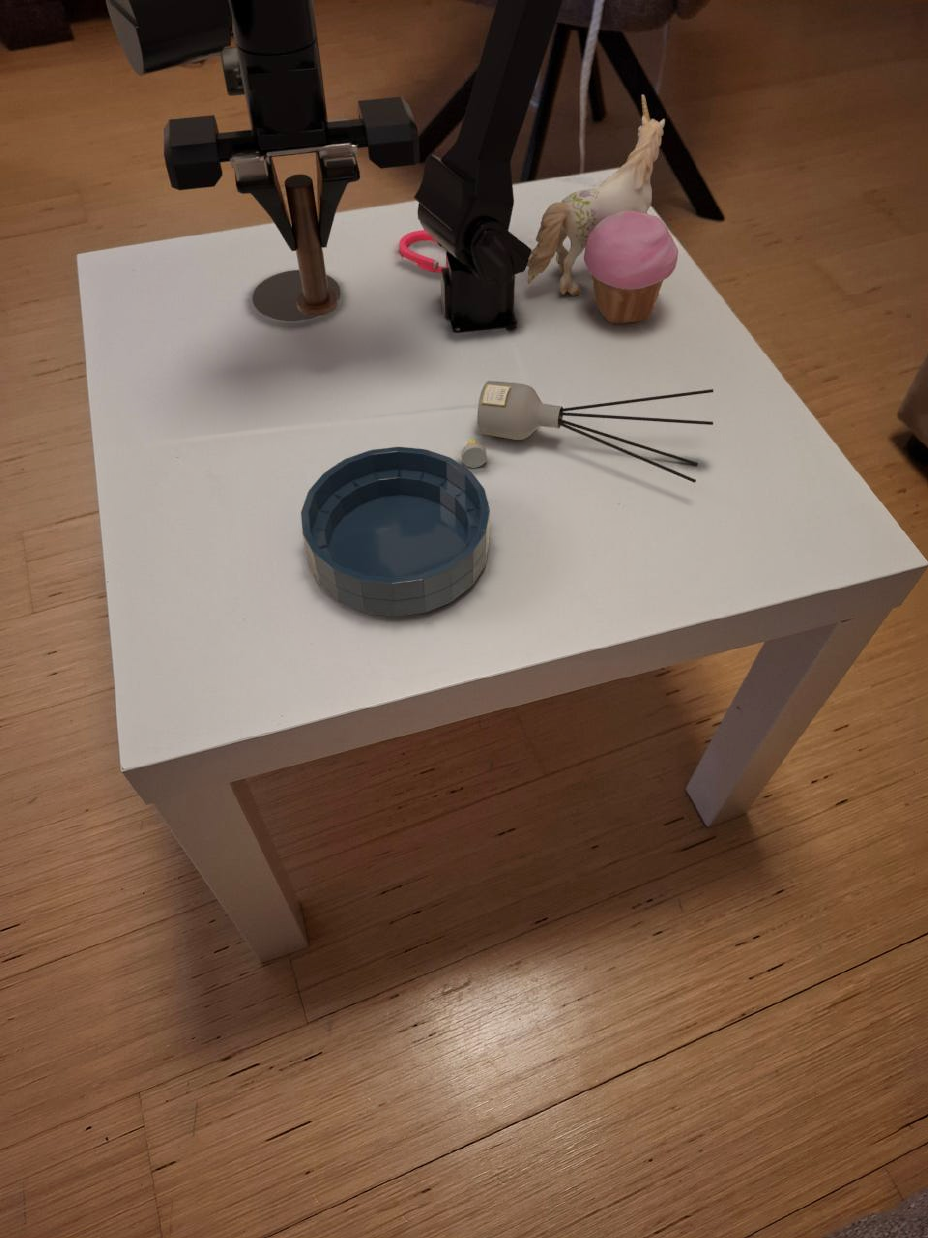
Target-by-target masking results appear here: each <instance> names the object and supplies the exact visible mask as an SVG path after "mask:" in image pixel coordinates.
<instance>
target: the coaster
mask: <svg viewBox="0 0 928 1238" xmlns="http://www.w3.org/2000/svg"><path fill="white" fill-rule="evenodd" d="M326 277H327V284H328V288H329V289H332V290H333V291H334V292H335V293H336V294H337V298H338V302H339V301H340V298H341V292H342V291H341V287H340V285H339V283H338V282H337V281H336V280H335V279H334V278H332V277H331V276H330V275H328V274H326ZM302 291H303V289H302V284H301V278H300V272H299V269H295V270H294V269H293V270H286V271H283V272H279V273H275V274H273V275H270V276H269V277H267V278H266V279H264V280H262V281H261V282H260V283H259V284H258V285H257V286H256V288H254V291H253V292H252V299H251V300H252V304H253V306H254V308H255V309H256V310H257V311H258V312H259V313H260V314H261V315H263V316H265V317H267V318H270V319H272V320H277V321H282V322H300V321H306V320H310V319H314V318H315V319H316V318H317V317H318V316H309V315H305V314H303V313H302V312H300V311H299V309H298V307H297V302H296V299H297V296H298V295H299V293H301V292H302Z"/></svg>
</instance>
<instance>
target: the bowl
mask: <svg viewBox="0 0 928 1238" xmlns="http://www.w3.org/2000/svg"><path fill="white" fill-rule="evenodd" d="M306 494H307V495H306V497H305V500H304V502H303V505H302V508H301V511H300V519H301V520H300V521H301V531H302V537H303V540H304V542H303V543H304V546H305V551H306V557H307V561H308V565H309V568H310V570H311V572H312V574H313V576H314V578H315V579H316V581H317V583H318V584H319V586H320V588H321V589H323V590H324V591H325V592H326V593H327V594H328V595H330V596H331V597H332V598H333V599H335V600H336V601H337V602H338V603H340V604H341V605H344V606H346V607H349V608H352V609H354V610H356V611H358V612H361V613H364V614H366V615H373V616H384V617H393V618H395V617H396V618H397V617H398V618H399V617H406V616H413V615H420V614H421V615H422V614H426V613H429V612H431V611H434V610H436V609H438V608H441V607H443V606H446V605H448V604H450V603H453V601H455V600H456V599H457V598H459V597H460V596H461V595H462V594H463V593H465V592H466V591H467V590H469V589H470V588H471V587H472V586H473V585H474V584H475V583H476V581H477V580H478V579H479V576H480V575H481V573H482V572H483V570H484V568H485V567H486V564H487V559H488V552H489V546H490V532H491V531H490V525H491V520H490V519H491V509H490V505H489V501H488V496H487V492H486V490H485V488H484V486H483V485H482V483H481V482H480V481H479V480H478V478H477V477H476V476H475V475H474V473H473V471H471V470H469V469H468V468H467V467H465V466H464V465H463V464H461V463H459V462H458V461H456V460H455V459H453V458H452V457H450V456H448V455H444V454H441V453H438V452H435V451H432V450H429V449H425V448H419V447H417V448H416V447H407V446H406V447H405V446H392V447H383V448H376V449H369V450H366V451H364V452H361V453H358V454H355V455H352V456H349V457H347V458H344V459H342V460H341V461H339V462H338V463H337V464H335V465H333V466H332V467H330V468H329V469H327V470H326V471H324V472H323V473H322V474H321V475H320V477H319V478H318V479H317V480H316V481H315V483H313V485H312V486H311V487H310V488H309V490H308V492H307V493H306Z"/></svg>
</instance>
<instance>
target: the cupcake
mask: <svg viewBox="0 0 928 1238" xmlns="http://www.w3.org/2000/svg"><path fill="white" fill-rule="evenodd" d="M583 251H584V253H583V261H584V264H585V266H586V268H587V270H588V273H589V274H590V275H591V278H592V279H591V280H592V286H593V287H592V288H593V294H594V303H595V306H596V307H597V308H598V309H599V310H600V313H601V314H602V316H603V317H604V318H605V319H606V321H607V322H609V323H612V324H625V323H627V324H628V323H636V322H637V323H638V322H643V321H647V320H648V319H649V317H650V316H651V314H652V312H653V310H654V308H655V305H656V303H657V300H658V298H659V294H660V292H661V288H662V285H663V282H664V281H665V280H667V279H668V278H669V277H670V276H671V275H672V274H673V272H674V271H675V269H676V267H677V263H678V259H679V249H678V246H677V244H676V242H675V240H674V239H673V236H672V235H671V233H670V232H669V229H668V226H667V224H666V223H664V221H663V220H662V219H661V218H660V217H658V216H656V215H653V214H649V213H648V214H646V213H642V212H638V211H631V210H627V211H621V212H618V213H616V214H613V215H610V216H608V217H606V218H605V219H603V220H602V221H601V222H599V223H598V224H597V225H596V227H595V228H594V229H593V230H592V232H591V233H590V235H589V237H588V239H587V242H586V246H585V248H584V250H583Z"/></svg>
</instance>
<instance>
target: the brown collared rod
mask: <svg viewBox="0 0 928 1238" xmlns="http://www.w3.org/2000/svg"><path fill="white" fill-rule="evenodd" d="M312 178H313V177H311V176H310V175H307V174H293V175H290V176H288V177H287V178H286V179H285V180H284V188H285V194H286V199H287V206H288V207H287V208H288V214H289V217H290V220H291V224H292V230H293V234H294V239H295V245H296V251H295V253H296V260H297V265H298V270H299V272H300V278H301V284H302V289H303V291H302V292H301V293H299V295H298V296H297V299H296V302H297V307H298V309H299V311H300V312H302V313H303V314H305V315H309V316H317V317H322V316H325V315H329V314H331V313H332V312H334V311H335V310H336V309H337V307H338V305H339V301H338V298H337V294H336V293H335V292H334V291H333V290H332V289H329V288H328V284H327V277H326V275H327V271H326V264H325V256H324V251H323V250H324V249H323V248H322V247H321V240H320V233H319V222H318V207H317V201H316V195H315V187H314V182H313V181H314V180H313V179H312Z"/></svg>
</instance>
